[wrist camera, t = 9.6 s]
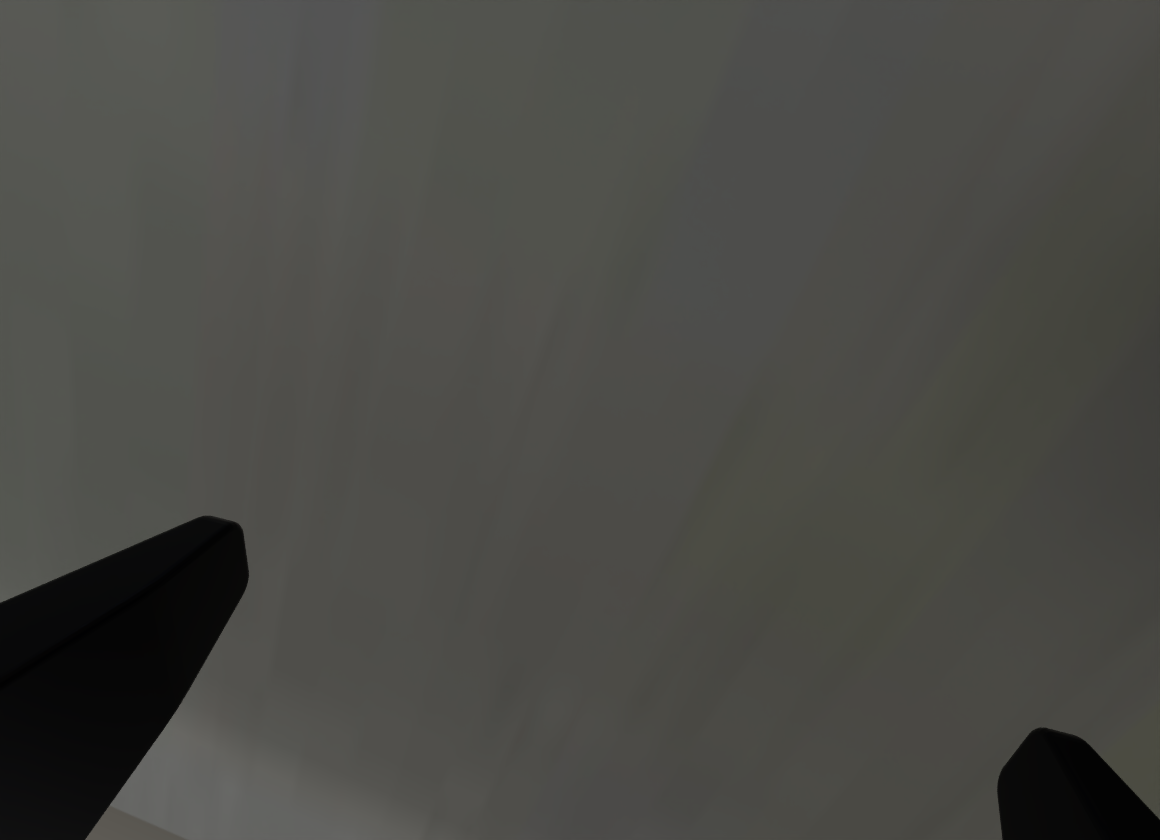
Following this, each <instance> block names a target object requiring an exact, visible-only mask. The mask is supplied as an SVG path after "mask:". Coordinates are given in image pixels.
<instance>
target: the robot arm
mask: <svg viewBox="0 0 1160 840" xmlns="http://www.w3.org/2000/svg"><path fill="white" fill-rule="evenodd" d="M248 578H249V570H248V562H247V555H246V548H245V541H244V534H243V529H242V528H241V526H240V525H239V524H238V523H236V522H233V521H230V520H226V519H222V518H218V517H214V516H202V517H199V518H196V519H194V520H191V521H189V522H187V523H184V524H182V525H180V526H177V527H175V528H173V529H170V530H168V531H166V532H163V533H161V534H159V535H156V536H154V537H152V538H149V539H147V540H145V541H143V542H140V543H138V544H136V545H133V546H131V547H129V548H126V549H124V550H122V551H119V552H117V553H115V554H112V555H110V556H108V557H105V558H103V559H101V560H98V561H96V562H94V563H92V564H89V565H87V566H85V567H82V568H80V569H78V570H75V571H73V572H71V573H68V574H66V575H64V576H61V577H59V578H57V579H54V580H52V581H50V582H48V583H45V584H43V585H41V586H38V587H36V588H34V589H31V590H29V591H27V592H24V593H22V594H20V595H17V596H15V597H13V598H10V599H8V600H6V601H3V602H1V603H0V840H85V839H86V838H87V836H88V835H89V833H90V832H91V831H92V829H93V828H94V826H95V825H96V824H97V822H98V821H99V819H100V818H101V816H102V815H103V814H104V812H105V811H106V810H107V808H108V807H109V805H110V804H111V802H112V801H113V800H114V798H115V797H116V795H117V794H118V793H119V791H120V790H121V788H122V787H123V786H124V784H125V783H126V781H127V780H128V779H129V777H130V776H131V774H132V773H133V772H134V770H135V769H136V767H137V766H138V765H139V763H140V762H141V760H142V759H143V757H144V756H145V755H146V753H147V752H148V750H149V749H150V748H151V746H152V745H153V743H154V742H155V741H156V739H157V738H158V736H159V735H160V734H161V732H162V731H163V729H164V728H165V726H166V725H167V724H168V722H169V721H170V719H171V718H172V716H173V715H174V713H175V712H176V710H177V709H178V707H179V705H180V704H181V702H182V700H183V699H184V697H185V696H186V694H187V692H188V691H189V689H190V687H191V685H192V684H193V682H194V680H195V678H196V677H197V675H198V673H199V671H200V670H201V668H202V666H203V664H204V663H205V661H206V659H207V657H208V656H209V654H210V652H211V650H212V648H213V647H214V645H215V643H216V641H217V640H218V638H219V636H220V634H221V633H222V631H223V629H224V627H225V626H226V624H227V622H228V620H229V619H230V617H231V615H232V613H233V612H234V610H235V608H236V606H237V605H238V603H239V601H240V599H241V598H242V596H243V594H244V592H245V589H246V587H247V583H248ZM997 792H998V803H999V812H1000V821H1001V830H1002V839H1003V840H1160V819H1159V818H1158V817H1157V816H1156V815H1155V814H1154V813H1153V812H1152V811H1151V810H1150V809H1149V808H1148V807H1147V806H1146V805H1145V803H1144V802H1143V801H1142V800H1141V799H1140V798H1139V797H1138V796H1137V795H1136V794H1135V793H1134V792H1133V791H1132V790H1131V789H1130V788H1129V786H1128V785H1127V784H1126V783H1125V782H1124V781H1123V780H1122V779H1121V778H1120V777H1119V776H1118V775H1117V774H1116V773H1115V772H1114V771H1113V770H1112V768H1111V767H1110V766H1109V765H1108V764H1107V763H1106V762H1105V761H1104V760H1103V759H1102V758H1101V757H1100V756H1099V755H1098V754H1097V753H1096V751H1095V750H1094V749H1093V748H1092V747H1091V746H1090V745H1089V744H1088V743H1087V742H1086V741H1084V740H1083V739H1081V738H1080V737H1077V736H1075V735H1072V734H1068V733H1064V732H1060V731H1056V730H1052V729H1048V728H1037V729H1035V730H1033V731H1032V732H1031V733H1030V734H1029V735H1028V736H1027V737H1026V739H1025V740H1024V741H1023V743H1022V744H1021V745H1020V746H1019V748H1018V749H1017V750H1016V752H1015V753H1014V754H1013V755H1012V757H1011V758H1010V759H1009V761H1008V762H1007V763H1006V765H1005V766H1004V767H1003V769H1002V771H1001V773H1000V776H999V779H998V788H997Z"/></svg>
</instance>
